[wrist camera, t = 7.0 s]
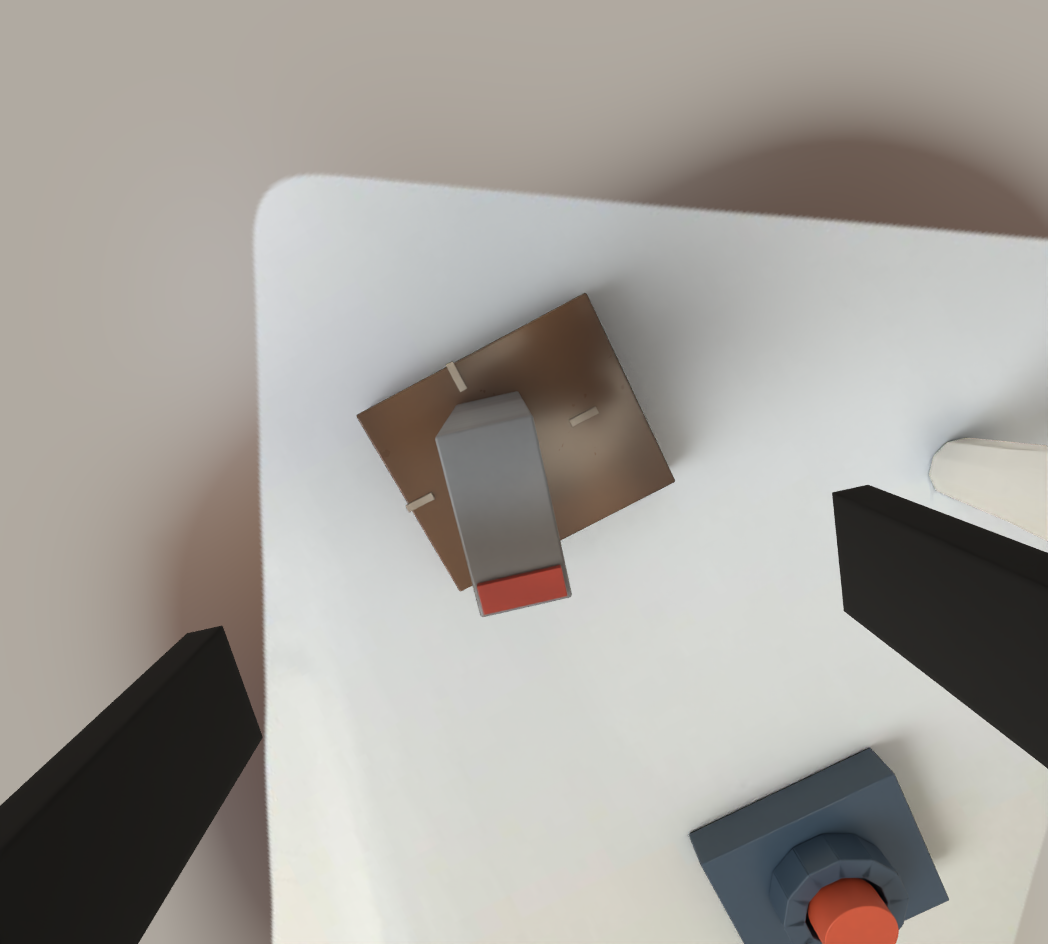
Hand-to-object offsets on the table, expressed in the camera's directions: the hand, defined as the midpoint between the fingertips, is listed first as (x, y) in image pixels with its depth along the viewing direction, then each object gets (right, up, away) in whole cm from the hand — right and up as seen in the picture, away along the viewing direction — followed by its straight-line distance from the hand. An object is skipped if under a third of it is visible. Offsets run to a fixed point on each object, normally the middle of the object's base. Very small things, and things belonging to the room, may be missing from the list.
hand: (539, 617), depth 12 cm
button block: (+17, -20, +23) cm, 36 cm away
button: (+17, -21, +20) cm, 34 cm away
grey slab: (-1, +4, +15) cm, 16 cm away
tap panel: (-1, +5, +17) cm, 18 cm away
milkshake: (+23, +4, +19) cm, 30 cm away
